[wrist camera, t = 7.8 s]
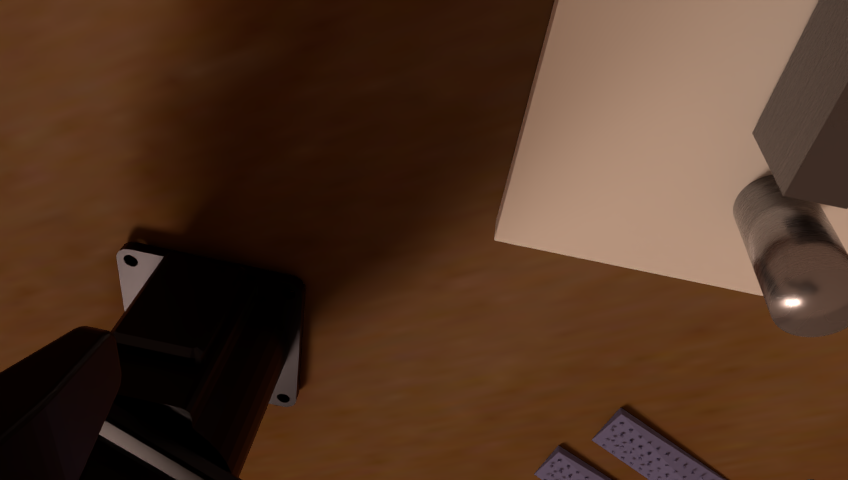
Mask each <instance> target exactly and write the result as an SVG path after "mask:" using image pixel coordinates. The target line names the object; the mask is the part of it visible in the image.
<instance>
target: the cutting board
mask: <svg viewBox="0 0 848 480" xmlns="http://www.w3.org/2000/svg"><path fill="white" fill-rule="evenodd" d="M818 1H819V0H555V1H554V5H553V8H552V12H551V16H550V20H549V24H548V27H547V31H546V35H545V39H544V42H543V46H542V50H541V54H540V57H539V61H538V65H537V69H536V72H535V76H534V80H533V84H532V88H531V91H530V95H529V99H528V103H527V106H526V110H525V114H524V118H523V121H522V125H521V129H520V133H519V136H518V140H517V144H516V148H515V152H514V155H513V159H512V163H511V167H510V170H509V174H508V178H507V182H506V185H505V189H504V193H503V197H502V200H501V204H500V208H499V212H498V216H497V219H496V226H495V236H494V240H495V241H500V242H505V243H510V244H515V245H519V246H524V247H529V248H534V249H539V250H544V251H548V252H553V253H558V254H563V255H568V256H573V257H577V258H582V259H587V260H592V261H597V262H602V263H606V264H611V265H616V266H621V267H626V268H631V269H635V270H640V271H645V272H650V273H655V274H660V275H664V276H669V277H674V278H679V279H684V280H689V281H694V282H698V283H703V284H708V285H713V286H718V287H723V288H727V289H732V290H737V291H742V292H747V293H752V294H756V295H761V296H763V293H762V290H761V288H760V285H759V283H758V280H757V277H756V275H755V272H754V269H753V267H752V264H751V261H750V259H749V256H748V253H747V251H746V248H745V245H744V243H743V240H742V237H741V235H740V232H739V229H738V227H737V224H736V221H735V219H734V215H733V206H734V202H735V200H736V198H737V196H738V194H739V193H740V192H741V191H742V190H743V189H744V188H745V187H746V186H747V185H748V184H750V183H751V182H753V181H755V180H757V179H759V178H762V177H764V176H768V175H773V174H772V172H771V170H770V168H769V166H768V164H767V162H766V160H765V158H764V156H763V154H762V152H761V150H760V148H759V146H758V144H757V142H756V140H755V138H754V136H753V134H752V132H753V130H754V128H755V126H756V124H757V122H758V120H759V118H760V116H761V114H762V112H763V110H764V108H765V106H766V104H767V102H768V101H769V99H770V97H771V95H772V93H773V91H774V89H775V87H776V85H777V83H778V81H779V79H780V77H781V75H782V73H783V71H784V69H785V67H786V65H787V63H788V61H789V59H790V57H791V55H792V53H793V51H794V49H795V47H796V45H797V43H798V41H799V39H800V37H801V35H802V33H803V31H804V29H805V27H806V25H807V23H808V21H809V19H810V17H811V15H812V13H813V11H814V9H815V7H816V5H817V3H818ZM819 204H820V203H819ZM820 205H821V207H822V209H823V211H824V213H825V214H826V216H827V218H828V220H829V221H830V223H831V225H832V227H833V229H834V230H835V232H836V234H837V236H838V237H839V239H840V241H841V243H842V245H843V246H844V248H845V250H846V252H847V253H848V208H847V209H844V208H839V207H834V206H829V205H824V204H820Z"/></svg>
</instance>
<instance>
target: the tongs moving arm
mask: <svg viewBox="0 0 848 480" xmlns="http://www.w3.org/2000/svg"><path fill="white" fill-rule="evenodd" d="M752 134H753V136H754V138H755V140H756V142H757V144H758V146H759V148H760V150H761V152H762V154H763V156H764V158H765V160H766V162H767V164H768V166H769V168H770V170H771V172H772V174H773V176H774V178H775V180H776V182H777V184H778V186H779V188H780V190H781V192H782V194H783V196H786V197H791V198H796V199H800V200H805V201H810V202H815V203H820V204H824V205H829V206H834V207H839V208H844V209H847V208H848V0H819V1H818V3H817V5H816V7H815V9H814V11H813V13H812V15H811V17H810V19H809V21H808V23H807V25H806V27H805V29H804V31H803V33H802V35H801V37H800V39H799V41H798V43H797V45H796V47H795V49H794V51H793V53H792V55H791V57H790V59H789V61H788V63H787V65H786V67H785V69H784V71H783V73H782V75H781V77H780V79H779V81H778V83H777V85H776V87H775V89H774V91H773V93H772V95H771V97H770V99H769V101H768V102H767V104H766V106H765V108H764V110H763V112H762V114H761V116H760V118H759V120H758V122H757V124H756V126H755V128H754V130H753V132H752Z"/></svg>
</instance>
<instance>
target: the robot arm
mask: <svg viewBox="0 0 848 480" xmlns="http://www.w3.org/2000/svg"><path fill="white" fill-rule="evenodd" d="M132 256H134V257H135V258H136V259H135V258H133V257H132ZM117 264H118V271H119V277H120V284H121V291H122V297H123V304H124V311H125V312H124V314H123V315H122V316H121V318H120V319H119V321H118V322H117V323H116V325H115V326H114V328H113V329H112V330H111V332H110V331H107V330H102V329H98V328H93V327H88V326H81V327H78V328H75V329H73V330H72V331H70V332H68V333H67V334H65V335H63V336H62V337H60V338H58V339H56V340H55V341H53V342H51V343H50V344H48V345H46V346H45V347H43V348H41V349H39V350H38V351H36V352H34V353H33V354H31V355H29V356H28V357H26V358H24V359H23V360H21V361H19V362H17V363H16V364H14V365H12V366H11V367H9V368H7V369H6V370H4V371H2V372H0V480H242V479H240V478H239V475H240V473H241V470H242V468H243V465H244V463H245V460H246V458H247V456H248V453H249V451H250V448H251V446H252V443H253V441H254V438H255V436H256V433H257V431H258V428H259V426H260V423H261V421H262V419H263V416H264V414H265V411H266V409H267V406H268V404H274V405H279V406H284V407H289V406H292V405H294V404H295V402H296V399H297V397H298V394H299V383H300V368H301V352H302V337H303V321H304V306H305V290H306V289H305V284H304V283H303V281H302V280H300V279H299V278H298V277H295V276H293V275H288V274H284V273H279V272H274V271H269V270H264V269H260V268H255V267H250V266H245V265H241V264H236V263H231V262H226V261H221V260H217V259H212V258H207V257H202V256H197V255H193V254H188V253H183V252H178V251H174V250H169V249H164V248H159V247H154V246H150V245H145V244H140V243H135V242H128V243H126V244H124V246H123V247H122V248H121V249H120V251H119V252H118V253H117ZM286 288H289V289H292V290H293V291H294V292H291V291H288V290H287V289H286ZM808 480H813V479H808Z"/></svg>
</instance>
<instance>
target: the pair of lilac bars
mask: <svg viewBox="0 0 848 480" xmlns="http://www.w3.org/2000/svg"><path fill="white" fill-rule="evenodd" d="M592 441H594V442H595V443H597V444H598V445H600V446H601V447H602V448H604V449H605V450H607V451H608V452H610V453H611V454H613V455H614V456H616V457H617V458H618V459H620V460H621V461H623V462H624V463H626V464H627V465H629V466H630V467H632V468H633V469H634V470H636V471H637V472H639V473H640V474H642V475H643V476H645V477H646V478H647V479H649V480H726V479H724V478H723V477H721V476H720V475H719V474H717V473H716V472H714V471H713V470H711V469H710V468H708V467H707V466H705V465H704V464H702V463H701V462H700V461H698V460H697V459H695V458H694V457H692V456H691V455H689V454H688V453H686V452H685V451H684V450H682V449H681V448H679V447H678V446H676V445H675V444H673V443H672V442H670V441H669V440H667V439H666V438H665V437H663V436H662V435H660V434H659V433H657V432H656V431H654V430H653V429H651V428H650V427H649V426H647V425H646V424H644V423H643V422H641V421H640V420H638V419H637V418H635V417H634V416H633V415H631V414H630V413H628V412H627V411H625V410H624V409H622V408H620V409H619V410H618V411H617V412H616V413H615V414H614V415H613V417H612V418H611V419H610V420H609V421H608V422H607V423H606V424H605V426H604V427H603V428H602V429H601V430H600V431H599V432H598V433H597V434H596V436H595V437H594V438H593V439H592ZM534 475H536V476H537V477H539V478H540V479H542V480H612V479H610V478H609V477H607V476H605V475H604V474H602V473H601V472H599V471H598V470H596V469H595V468H593V467H591V466H590V465H588V464H587V463H585V462H584V461H582V460H581V459H579V458H577V457H576V456H574V455H573V454H571V453H570V452H568V451H567V450H565V449H563V448H562V447H560V446H559V445H558V447H557V448H556V449H555V450H554V451H553V452H552V454H551V455H550V456H549V457H548V458H547V460H546V461H545V462H544V463H543V464H542V465H541V467H540V468H539V469H538V470H537V471H536V472H535V474H534Z"/></svg>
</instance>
